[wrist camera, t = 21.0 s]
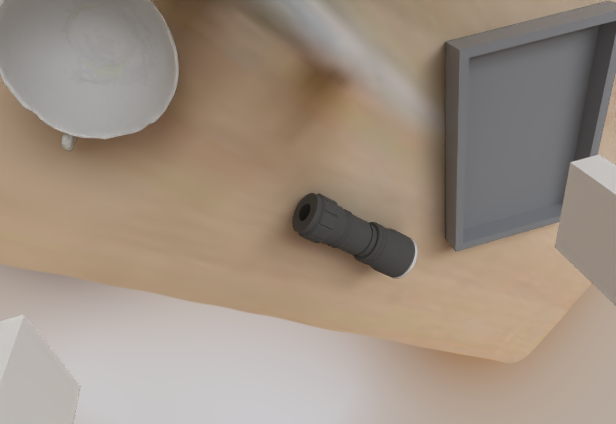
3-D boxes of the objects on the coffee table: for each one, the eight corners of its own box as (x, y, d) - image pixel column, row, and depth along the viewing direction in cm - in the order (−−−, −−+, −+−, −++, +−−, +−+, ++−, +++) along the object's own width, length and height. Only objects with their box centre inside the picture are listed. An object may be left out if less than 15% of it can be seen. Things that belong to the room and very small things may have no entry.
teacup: (40, -83, 36) (10, -75, 29) (200, -3, 41) (204, 18, 35) (0, 96, 42) (-32, 134, 35) (143, 145, 47) (138, 186, 41)
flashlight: (301, 186, 55) (282, 228, 55) (323, 193, 50) (301, 240, 50) (397, 233, 62) (380, 271, 62) (424, 243, 57) (405, 284, 57)
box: (445, 41, 48) (459, 49, 46) (608, 0, 50) (630, 7, 47) (444, 237, 64) (455, 251, 61) (569, 202, 65) (584, 214, 63)
